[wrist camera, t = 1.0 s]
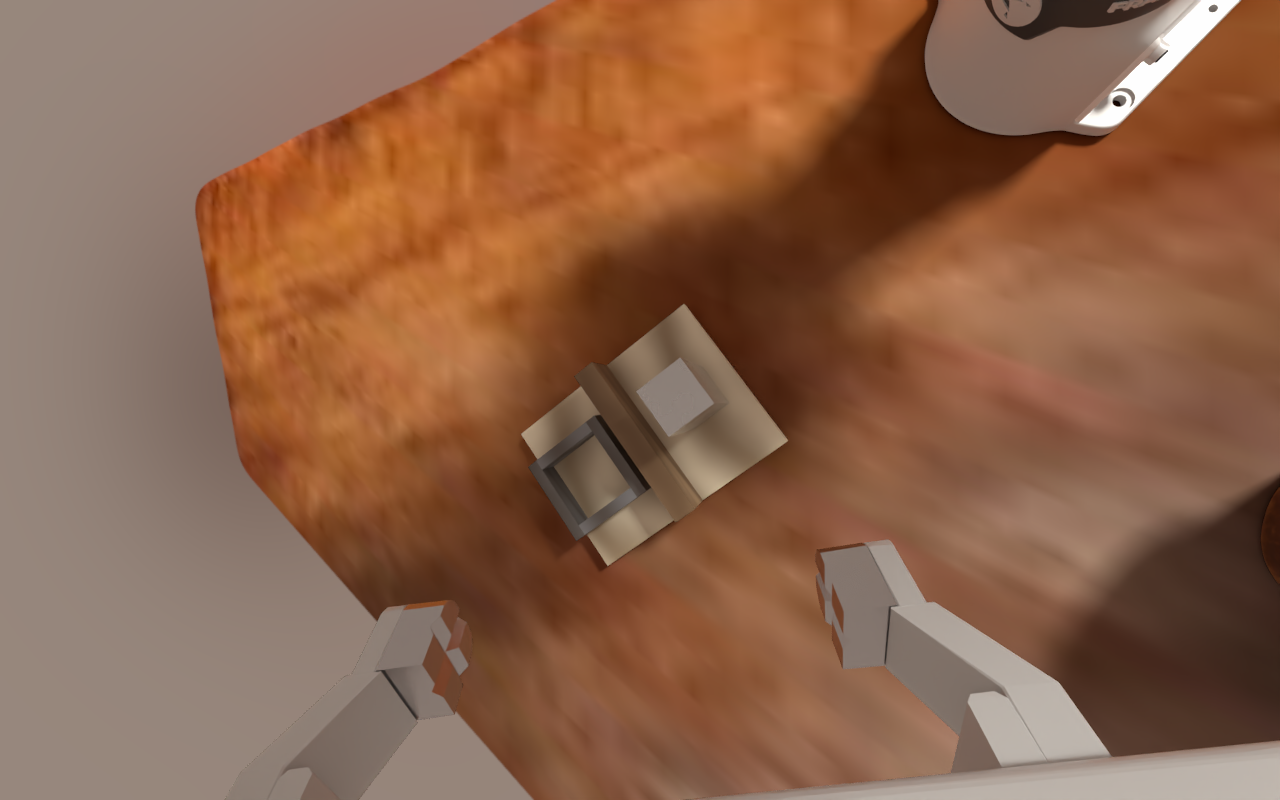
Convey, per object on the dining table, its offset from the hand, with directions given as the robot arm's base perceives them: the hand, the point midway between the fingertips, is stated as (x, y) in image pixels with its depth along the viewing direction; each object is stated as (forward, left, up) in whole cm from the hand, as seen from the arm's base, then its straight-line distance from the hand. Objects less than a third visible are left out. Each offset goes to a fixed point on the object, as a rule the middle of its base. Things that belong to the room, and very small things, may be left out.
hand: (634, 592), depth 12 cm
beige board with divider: (+7, -6, -37) cm, 38 cm away
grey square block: (+1, -6, -35) cm, 36 cm away
